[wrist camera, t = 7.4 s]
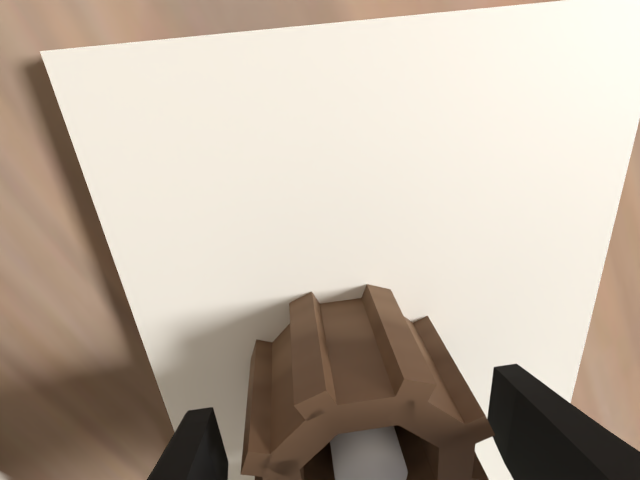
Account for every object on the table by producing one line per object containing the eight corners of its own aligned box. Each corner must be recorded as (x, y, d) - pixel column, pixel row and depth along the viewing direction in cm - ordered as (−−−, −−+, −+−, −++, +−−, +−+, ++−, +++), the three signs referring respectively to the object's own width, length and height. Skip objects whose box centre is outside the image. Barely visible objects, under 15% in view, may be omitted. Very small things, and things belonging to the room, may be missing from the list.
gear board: (632, -4, 9) (1039, -73, 4) (524, 515, 18) (619, 692, 13) (64, 51, 9) (-221, 45, 4) (232, 562, 17) (214, 768, 12)
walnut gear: (438, 274, 11) (504, 364, 8) (433, 416, 13) (482, 531, 10) (238, 301, 11) (221, 406, 7) (268, 441, 13) (265, 567, 10)
